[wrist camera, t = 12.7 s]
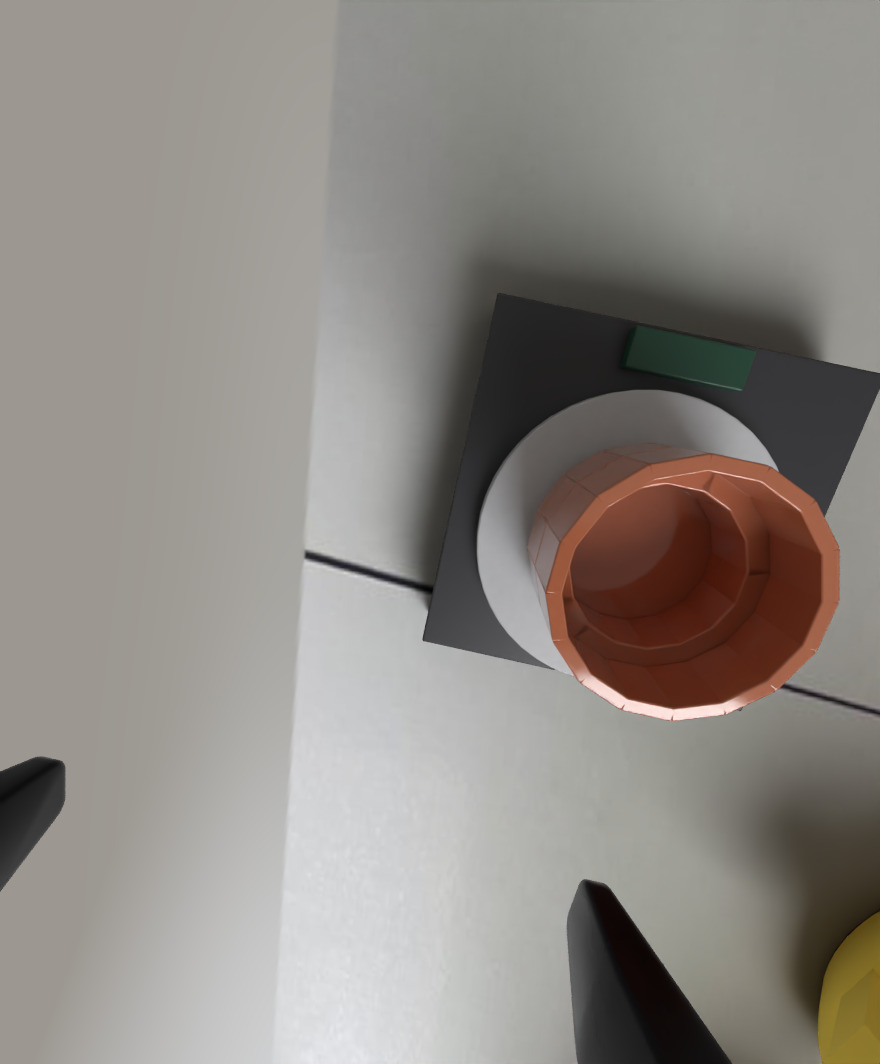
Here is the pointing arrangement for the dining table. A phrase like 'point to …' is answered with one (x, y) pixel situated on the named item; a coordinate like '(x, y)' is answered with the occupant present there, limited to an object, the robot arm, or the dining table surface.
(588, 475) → the bowl
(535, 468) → the scale
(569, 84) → the dining table surface
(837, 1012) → the teapot
